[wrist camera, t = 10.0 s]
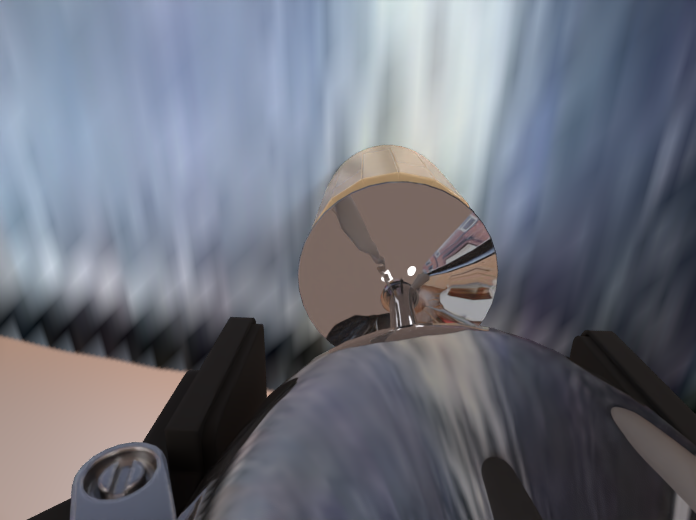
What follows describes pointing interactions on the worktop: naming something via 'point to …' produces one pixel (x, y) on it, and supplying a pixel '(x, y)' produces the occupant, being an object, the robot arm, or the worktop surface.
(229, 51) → the worktop surface
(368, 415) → the wine glass
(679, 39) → the worktop surface
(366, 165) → the wooden mug
